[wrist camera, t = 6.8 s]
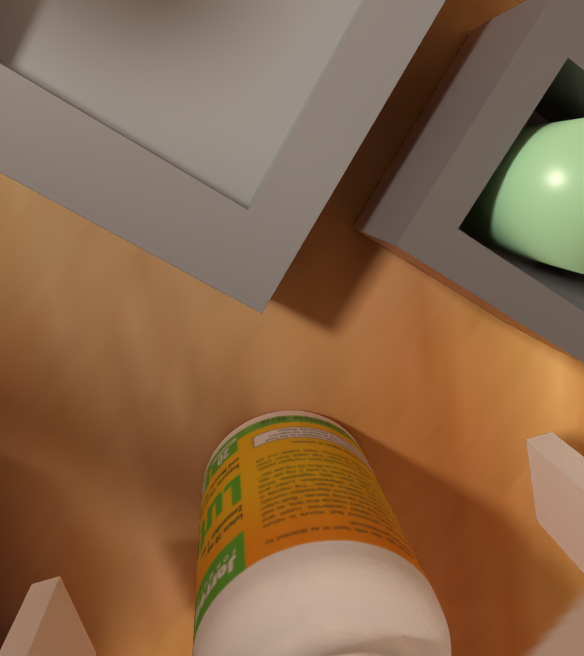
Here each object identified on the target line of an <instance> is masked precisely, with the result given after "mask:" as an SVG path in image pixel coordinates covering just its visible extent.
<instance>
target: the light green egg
mask: <svg viewBox="0 0 584 656" xmlns="http://www.w3.org/2000/svg"><path fill="white" fill-rule="evenodd" d="M460 226H461V227H462V229H463V230H464V231H465V233H466V234H467V235H468V236H470V237H471V238H473V239H474V240H476V241H477V242H479V243H480V244H482V245H483V246H486V247H488V248H492V249H495V250H499V251H503V252H506V253H510V254H513V255H517V256H520V257H524V258H527V259H531V260H535V261H538V262H542V263H545V264H549V265H552V266H556V267H560V268H563V269H567V270H570V271H574V272H577V273H581V274H584V118H580V119H573V120H566V121H559V122H553V123H546V124H539V125H532V126H525V127H523V128H522V130H521V131H520V133H519V134H518V136H517V138H516V139H515V141H514V142H513V144H512V145H511V147H510V148H509V150H508V152H507V153H506V155H505V156H504V158H503V159H502V161H501V162H500V164H499V166H498V167H497V169H496V170H495V172H494V173H493V175H492V176H491V178H490V180H489V181H488V183H487V184H486V186H485V187H484V189H483V190H482V192H481V194H480V195H479V197H478V198H477V200H476V201H475V203H474V204H473V206H472V208H471V209H470V211H469V212H468V214H467V215H466V217H465V218H464V220H463V222H462V223H461V225H460Z"/></svg>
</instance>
